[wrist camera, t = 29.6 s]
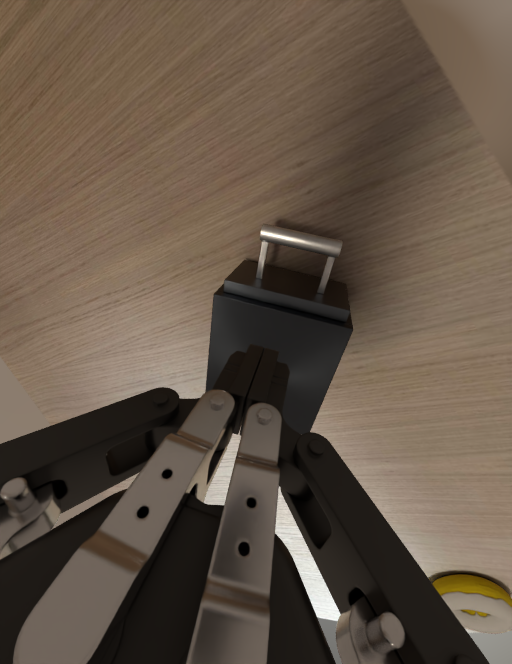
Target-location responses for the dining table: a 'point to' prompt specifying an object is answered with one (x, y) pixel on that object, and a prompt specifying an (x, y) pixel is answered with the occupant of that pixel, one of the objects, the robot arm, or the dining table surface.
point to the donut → (476, 602)
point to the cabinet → (280, 349)
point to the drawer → (292, 277)
